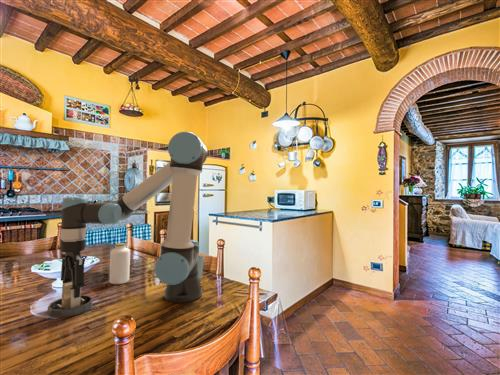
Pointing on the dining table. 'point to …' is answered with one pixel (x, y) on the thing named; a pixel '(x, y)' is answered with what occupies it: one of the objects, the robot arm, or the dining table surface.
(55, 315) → the tin
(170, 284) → the robot arm
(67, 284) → the tan rectangular block
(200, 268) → the cup
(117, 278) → the potion bottle
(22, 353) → the dining table surface
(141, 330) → the dining table surface
